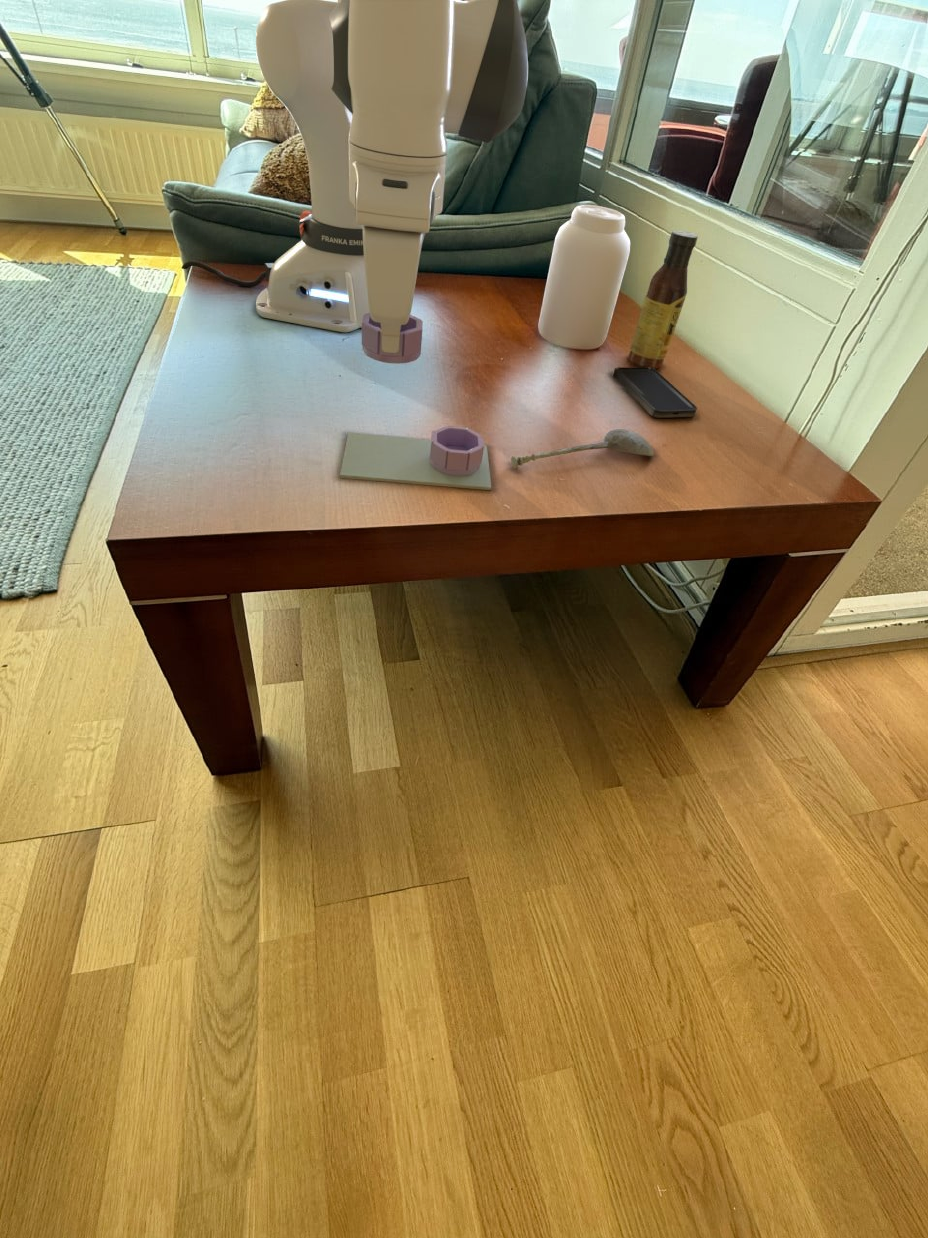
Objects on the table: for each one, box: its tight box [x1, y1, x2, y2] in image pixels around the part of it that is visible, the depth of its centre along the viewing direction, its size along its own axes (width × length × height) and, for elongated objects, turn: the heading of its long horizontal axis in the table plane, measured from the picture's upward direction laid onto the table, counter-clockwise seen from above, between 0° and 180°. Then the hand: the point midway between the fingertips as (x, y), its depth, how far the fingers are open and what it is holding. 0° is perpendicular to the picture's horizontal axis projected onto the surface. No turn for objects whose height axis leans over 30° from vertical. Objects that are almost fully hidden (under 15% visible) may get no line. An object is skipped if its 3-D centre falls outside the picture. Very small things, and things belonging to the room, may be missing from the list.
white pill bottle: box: [537, 204, 631, 350], centre depth 108 cm, size 12×12×20 cm
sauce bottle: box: [628, 230, 698, 369], centre depth 103 cm, size 7×6×20 cm
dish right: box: [429, 425, 485, 476], centre depth 78 cm, size 6×6×3 cm
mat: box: [339, 432, 492, 491], centre depth 78 cm, size 18×10×1 cm, turn 92°
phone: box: [612, 366, 698, 419], centre depth 100 cm, size 8×1×15 cm
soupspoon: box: [510, 428, 655, 470], centre depth 83 cm, size 22×3×7 cm
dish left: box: [361, 313, 424, 365], centre depth 69 cm, size 6×6×3 cm
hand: (392, 335), depth 68 cm, fingers closed on dish left, 6 cm apart
